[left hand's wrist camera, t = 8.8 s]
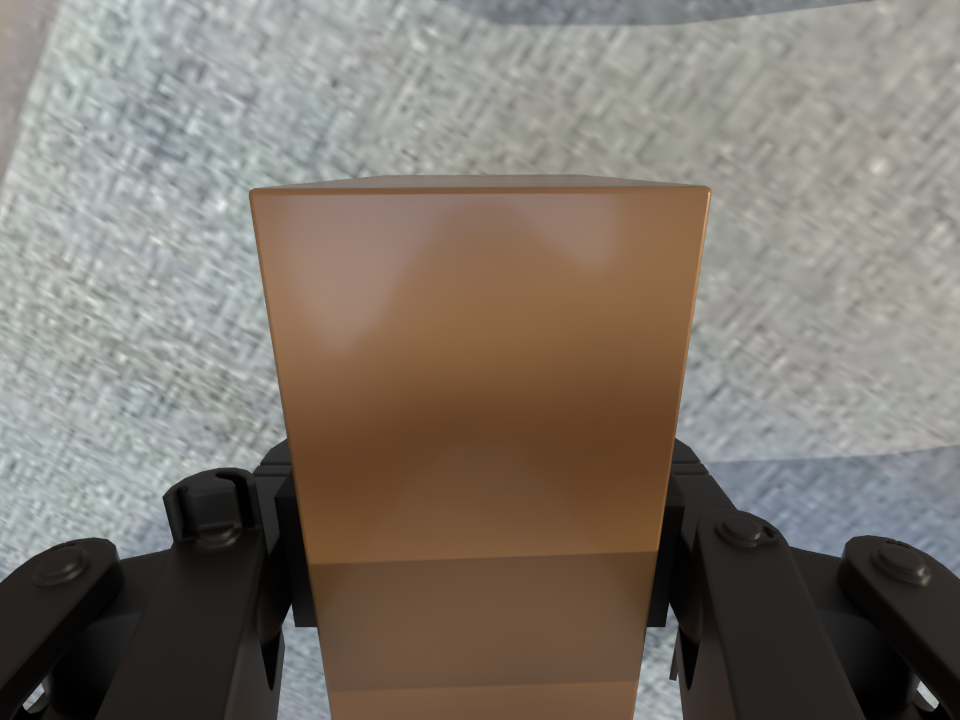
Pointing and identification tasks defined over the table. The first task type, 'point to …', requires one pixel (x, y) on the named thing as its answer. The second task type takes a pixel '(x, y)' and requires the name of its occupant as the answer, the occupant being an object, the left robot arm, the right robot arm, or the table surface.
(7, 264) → the table surface
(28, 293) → the table surface
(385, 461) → the post
